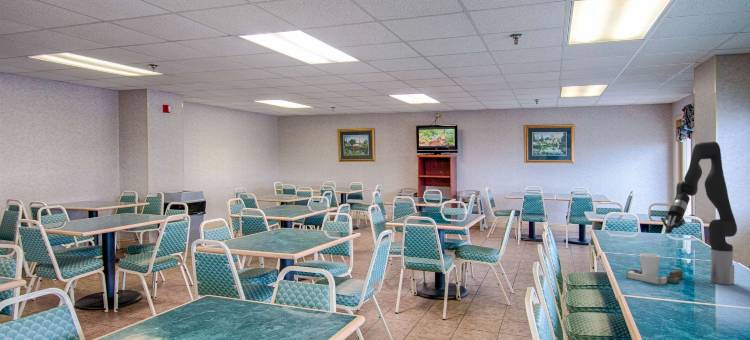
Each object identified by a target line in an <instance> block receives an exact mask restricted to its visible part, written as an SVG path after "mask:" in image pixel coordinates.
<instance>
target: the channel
mask: <svg viewBox="0 0 750 340" xmlns="http://www.w3.org/2000/svg"><path fill="white" fill-rule="evenodd" d="M640 271H642V268H641V267H640ZM669 276H672V277H678V278H680V279H682V278H683V269H676V270H673V271H672V270H671V271H669Z"/></svg>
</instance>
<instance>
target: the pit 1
mask: <svg viewBox="0 0 750 340" xmlns="http://www.w3.org/2000/svg"><path fill="white" fill-rule="evenodd" d="M629 271H635V273H637V274H642V271H641V269H640V270H638V269H634V268H632V269H628V270H627V272H629Z"/></svg>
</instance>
